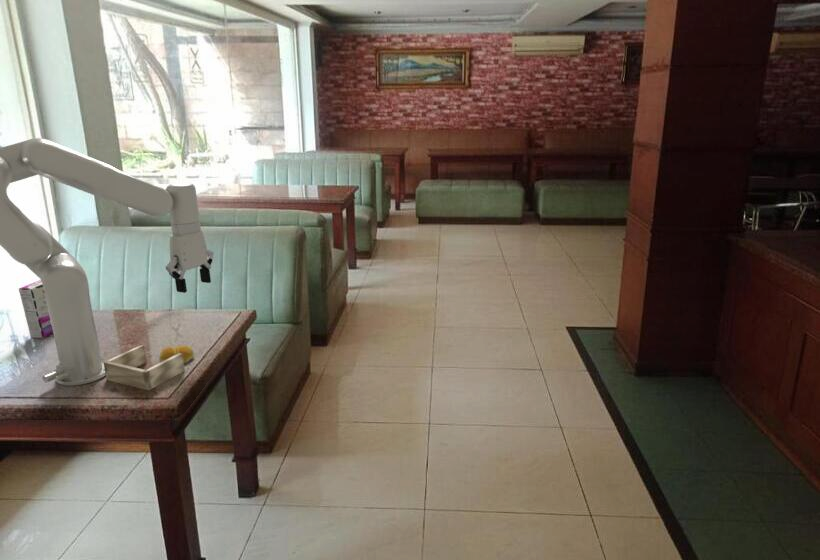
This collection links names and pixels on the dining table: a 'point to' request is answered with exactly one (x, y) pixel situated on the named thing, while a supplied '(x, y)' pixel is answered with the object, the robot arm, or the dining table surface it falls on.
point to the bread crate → (128, 374)
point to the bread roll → (171, 351)
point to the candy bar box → (36, 310)
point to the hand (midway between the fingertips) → (194, 286)
